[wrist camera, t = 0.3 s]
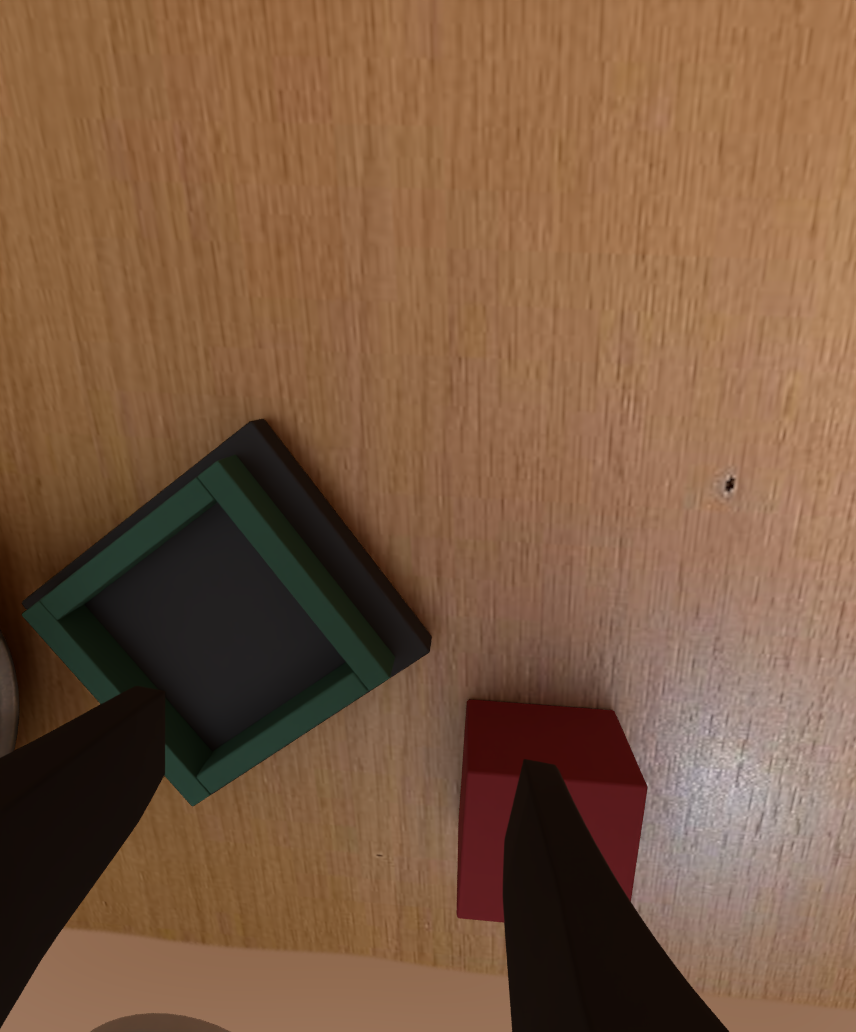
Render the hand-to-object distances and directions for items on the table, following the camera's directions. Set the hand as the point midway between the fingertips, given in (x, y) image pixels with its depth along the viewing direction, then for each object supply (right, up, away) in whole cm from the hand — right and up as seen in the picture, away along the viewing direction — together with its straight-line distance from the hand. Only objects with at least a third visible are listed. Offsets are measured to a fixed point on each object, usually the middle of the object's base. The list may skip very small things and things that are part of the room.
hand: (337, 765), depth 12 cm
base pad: (-5, +2, +9) cm, 10 cm away
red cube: (+6, -4, +9) cm, 11 cm away
